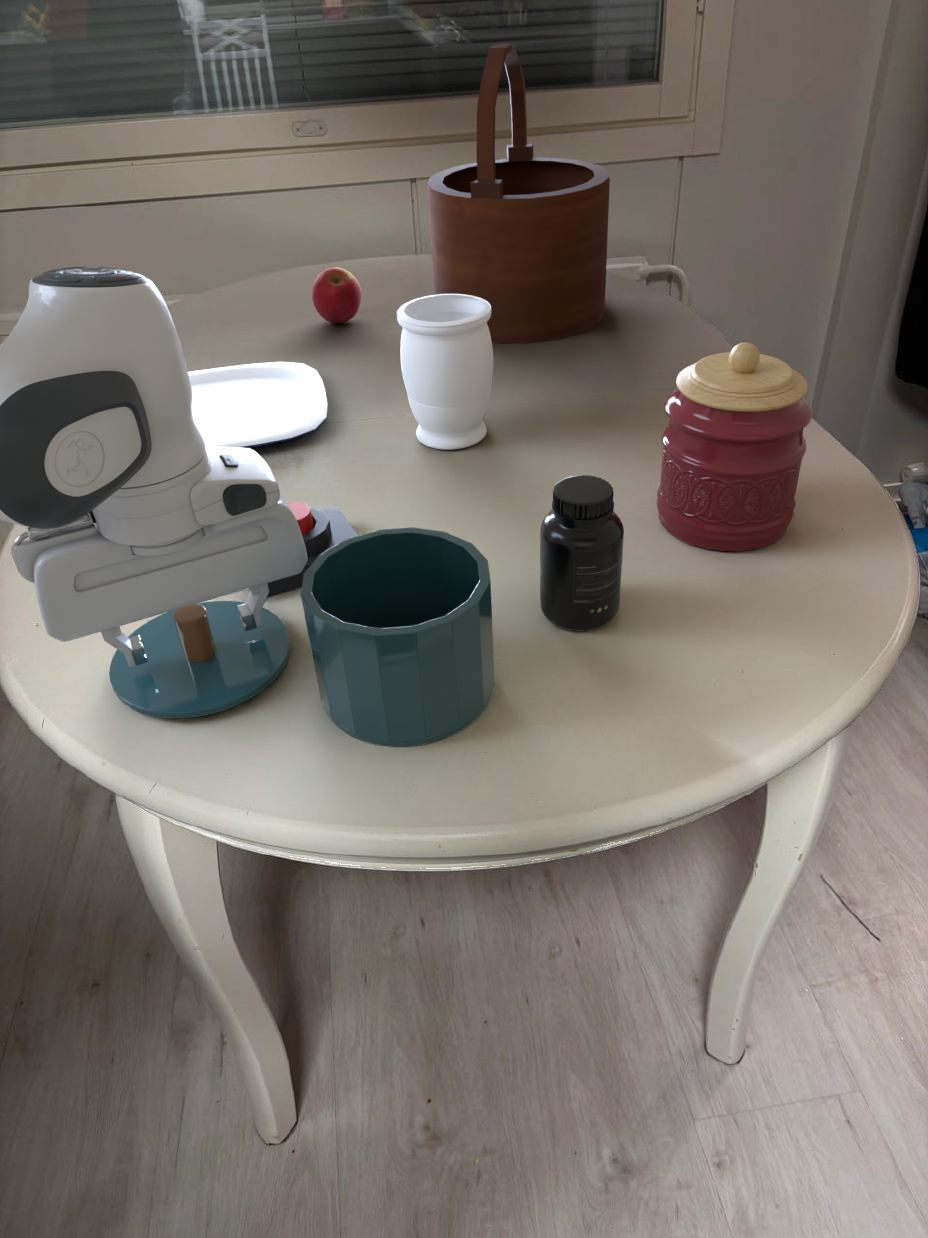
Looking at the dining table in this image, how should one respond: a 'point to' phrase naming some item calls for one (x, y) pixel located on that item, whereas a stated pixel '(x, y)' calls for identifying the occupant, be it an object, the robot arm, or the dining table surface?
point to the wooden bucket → (521, 226)
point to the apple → (336, 295)
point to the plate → (257, 403)
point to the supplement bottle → (581, 555)
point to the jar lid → (200, 661)
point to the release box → (316, 544)
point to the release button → (302, 516)
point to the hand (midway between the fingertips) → (196, 643)
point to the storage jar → (401, 634)
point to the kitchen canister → (733, 450)
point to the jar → (447, 367)
